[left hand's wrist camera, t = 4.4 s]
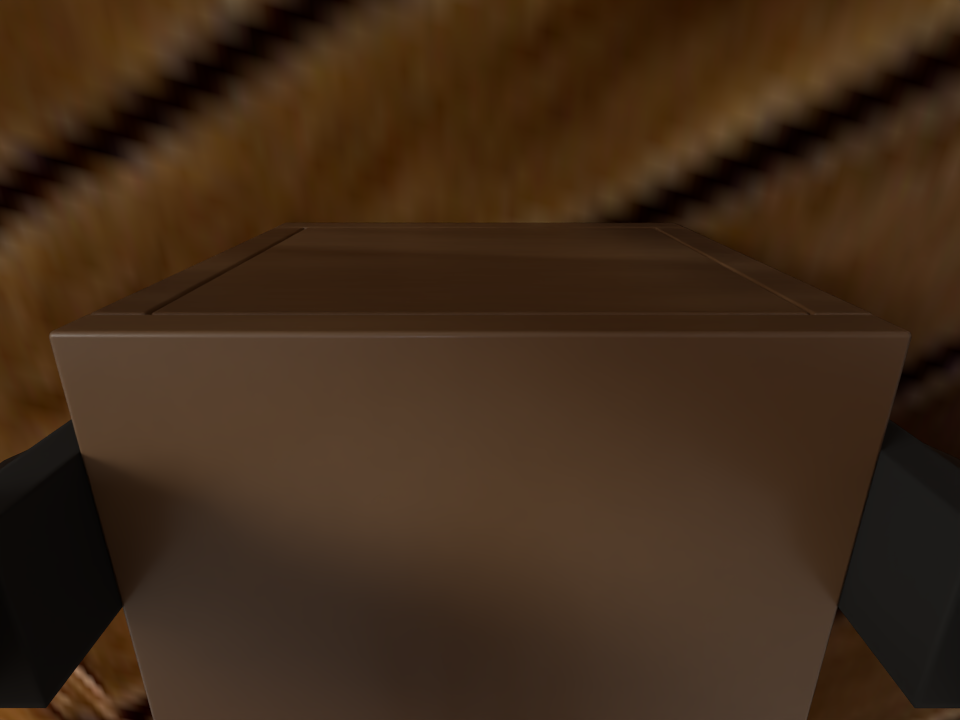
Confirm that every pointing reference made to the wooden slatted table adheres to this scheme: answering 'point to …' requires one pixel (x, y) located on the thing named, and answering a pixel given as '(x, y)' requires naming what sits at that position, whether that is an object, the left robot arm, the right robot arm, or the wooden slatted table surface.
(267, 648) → the tall brown box
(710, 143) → the wooden slatted table surface
